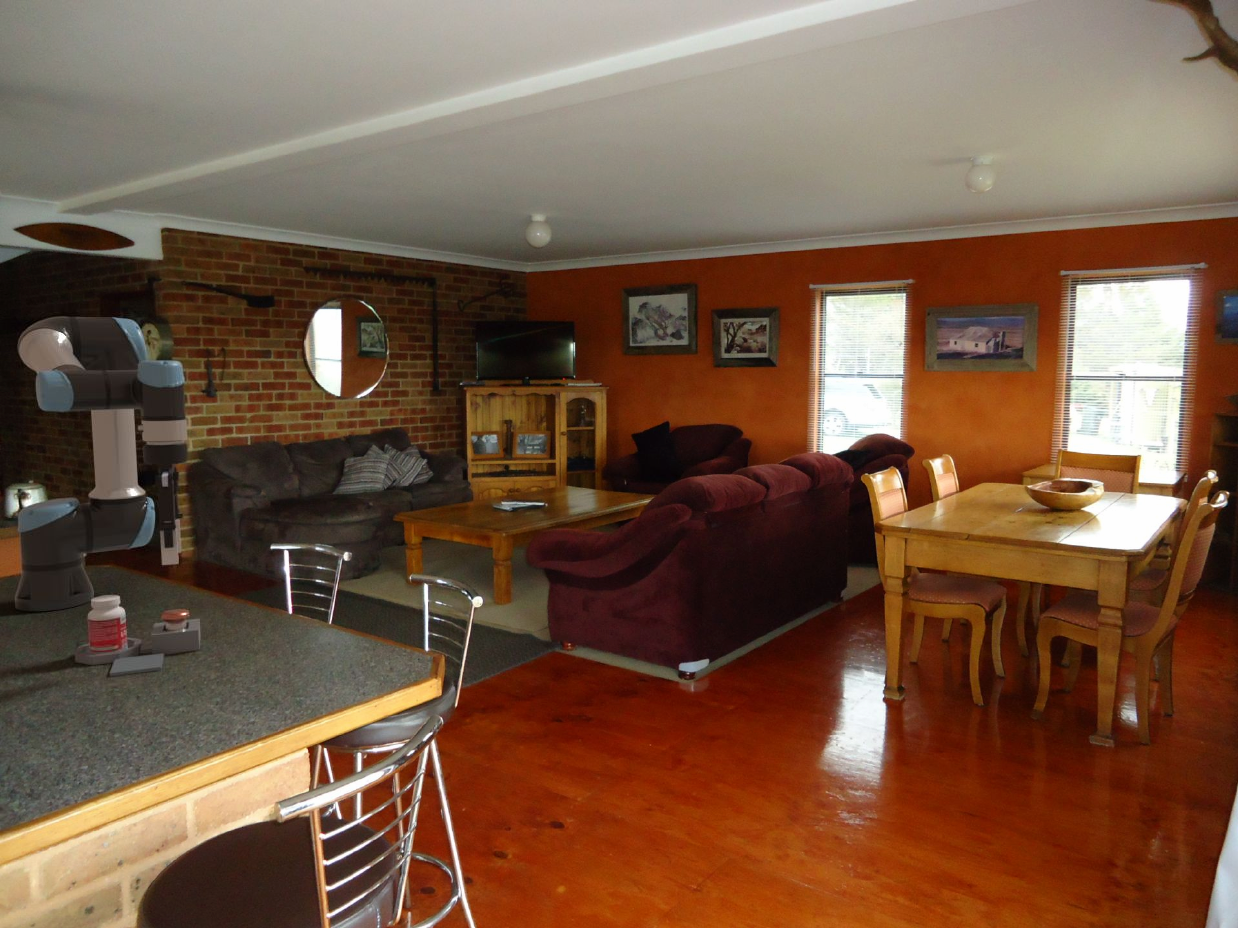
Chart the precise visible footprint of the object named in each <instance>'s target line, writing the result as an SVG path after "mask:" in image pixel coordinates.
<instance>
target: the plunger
mask: <svg viewBox="0 0 1238 928" xmlns="http://www.w3.org/2000/svg"><path fill="white" fill-rule="evenodd" d="M160 616H161V621H163V622H165V625H166V631H171V630H180V629H187V626H186V620H187V619H188V618H190V610H189V609H186V608H177V609H169V610H166V611H163V612H161V615H160Z"/></svg>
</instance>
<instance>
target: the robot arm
mask: <svg viewBox="0 0 1238 928" xmlns="http://www.w3.org/2000/svg"><path fill="white" fill-rule="evenodd" d="M17 342H18V343H17V353H18V355H19V357H20V359H21V360H22V362H23V364H24V365H26V366H27V367H28V369H29V368H30V369H31V370H33V371H34V372H36V377H35V393H36V394H35V395H36V401H37V403H38V404H37V405H38V407H39V408H40V409H41V410H42V411H44V412H59V413H65V412H82V411H90V412H91V413H90V414H91V430H92V446H93V463H94V465H93V466H94V477H95V478H94V479H95V480H94V481H95V487H94V489H92V490H91V491H90V492H89V493H88V502H85V503H80V501H79V500H78V498H76V497H65V498H63V497H62V498H55V499H54V498H53V499H49V500H44V501H40V502H36V503H32V504H29V505H28V506H25V507H23V508H22V509H20V511H19V513H18V517H17V521H18V522H17V523H18V524H17V525H18V528H17V532H18V533H19V548H20V562H21V576H20V579H19V582H18V585H17V589H16V592H15V596H14V606H15V609H16V610H19V611H22V612H23V611H24V612H48V611H56V610H65V609H70V608H73V607H78V606H81V605H84V604H87V603H89V602H91V599H93V598H95V594H94V593H95V592H94V587H93V585H92V583H91V581H90V579H89V576H88V574H87V572H86V570H85V567H84V563H83V554H91V553H92V554H93V553H99V552H108V551H116V550H117V551H118V550H124V549H125V550H130V549H132V548H138V547H143V546H146V545H147V544H148V543H149V542H150V541H151V540H152V537H153V534H154V529H155V531H156V532H159V534H160V535H159V536H160V551H161V553H160V554H161V565H162V566H168V565H169V566H170V565H178V564H179V554H180V553H182V539H181V523H180V521H181V519H184V514H183V513H180V512H181V511H180V510H181V509H179V508H180V507H179V495H178V492H179V490H180V489H179V488H180V484H179V481H180V472H179V471H178V470H177V467H176V466H175V465H179V464H180V465H181V464H184V463H187V462H188V461H189V449H188V448H189V447H188V444H187V442H185V441H186V440H187V439H188V427H187V424H188V423H187V418H186V399H185V397H186V396H185V395H186V394H185V380H186V378H185V376H184V371H183V370H184V369H183V364H182V362H181V361H178V360H148V352H147V351H148V350H147V345H146V341H145V337H144V335H143V332H142V329H141V328H140V326H139V324H138V323H137V322H136V321H135V320H133V319H129V318H121V317H113V316H112V317H97V316H96V317H95V316H94V317H92V316H91V317H89V316H88V317H87V316H85V317H84V316H67V315H66V316H65V315H64V316H52V317H48V318H43V319H42V320H38V321H37V322H35V323H33V324H32V325H30V326H28V327H27V328H26V329H25V330H24V331H23V332H22V333H21V334H20V336H19V339H18V341H17ZM138 409H139V410H140V420H141V425H138V427H137V430H138V431H142V436H141V437H142V440H143V442H144V444H143V446H142V455H143V456H142V457H143V463H144V464H145V465H151V466H152V465H153V466H154V465H156V466H158V472H155V473H154V481H155V482H154V483H155V484H156V487H155V488H156V495H157V497H158V499H157V500H158V521H159V524H158V526H156V527H155V523H156V511H155V503H154V501H153V499H152V498H151V497H149V496H147V495H146V490H145V489H143V488H142V487H141V486H140V485H139V483H138V467H137V463H138V461H137V443H136V430H135V427H136V425H135V424H136V423H135V410H138Z"/></svg>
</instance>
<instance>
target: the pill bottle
mask: <svg viewBox="0 0 1238 928" xmlns="http://www.w3.org/2000/svg"><path fill="white" fill-rule="evenodd" d="M90 604H91V605H90V606H91V608H92V609H91V610H90V611H89V612H88V614H87V623H88V625H87V627H88V641H89V642H88V643H90V653H89V654H94V655H96V654H105V653H113V652H118V651H121V650H124V649H127V648H128V645H127V637H128V635H127V634H128V633H127V631H128V630H127V618H126V611H125V608H124V607H122V606H119V605H120V604H121V597H120V596H119V595H116V594H106V595H99V596H96V597H95V596H94V598H93V599H91V601H90Z"/></svg>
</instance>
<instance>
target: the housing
mask: <svg viewBox="0 0 1238 928" xmlns="http://www.w3.org/2000/svg"><path fill="white" fill-rule="evenodd" d="M200 621H201V619H200V618H191V619H186V626H187V629H180V630H171V631H166V625H165V621H163V622H156V623H153V627H152V631H151V635H150V636H151V637H150V639H151V642H145V643H142V639H139V638H133V637H130V636H129V637H128V636H127V645H128V648H127V649H124V650H121V651H118V652H113V653H105V654H96V655H94V654H90V643H89V642H88V643H86V644H82V645H79V646H78V647H77V649H76V650H75V652H74V658H75V659H74V661H75V663H78V664H85V665H90V666H96V665H102V664H103V665H104V664H113V663H114V660H115V659H120V658H126V657H135V656H140V655H146V654H151V653H152V654H160V653H164V655H171V654H172V655H173V654H180V653H189V652H195V651H200V648H201V639H202V636H201V622H200ZM152 654H151V655H152Z"/></svg>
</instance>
